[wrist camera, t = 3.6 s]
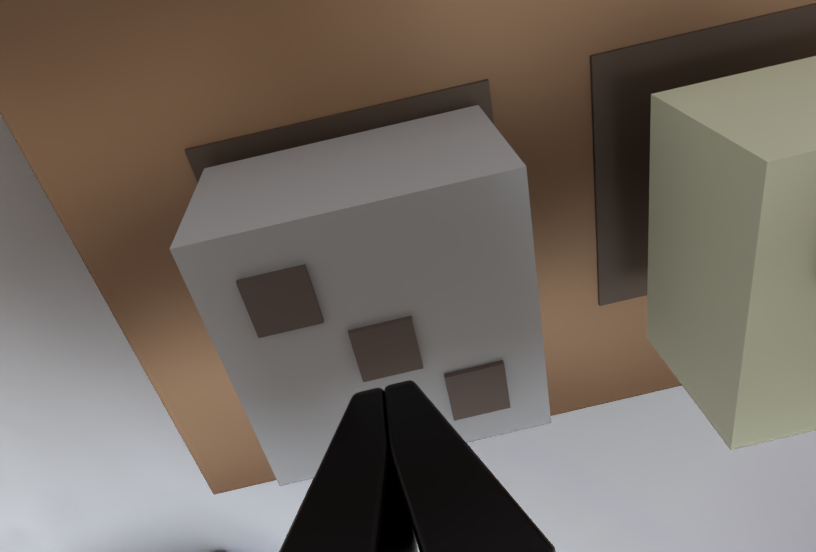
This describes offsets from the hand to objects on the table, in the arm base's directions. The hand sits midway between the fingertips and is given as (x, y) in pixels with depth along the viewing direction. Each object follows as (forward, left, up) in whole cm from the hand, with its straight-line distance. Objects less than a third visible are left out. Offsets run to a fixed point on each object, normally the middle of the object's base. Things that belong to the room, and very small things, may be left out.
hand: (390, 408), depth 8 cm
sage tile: (0, -8, -3) cm, 8 cm away
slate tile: (0, 0, -4) cm, 4 cm away
